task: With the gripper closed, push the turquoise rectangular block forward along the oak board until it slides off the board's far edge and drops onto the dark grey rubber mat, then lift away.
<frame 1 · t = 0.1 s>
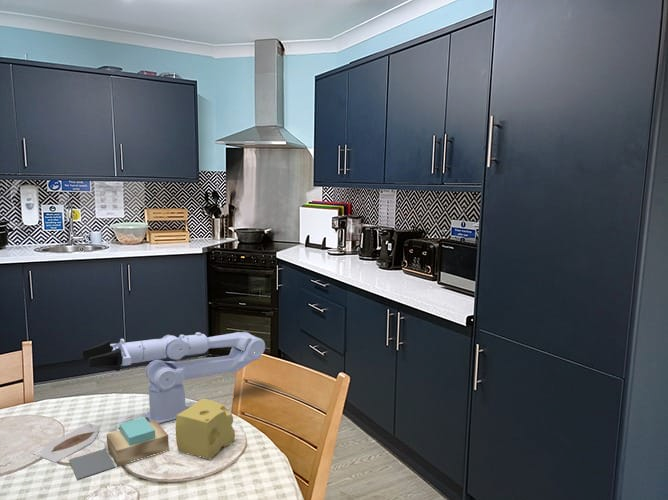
hand: (85, 358, 123), 22 cm above the table, tool horizontal, fingers open, 7 cm apart
cheese: (205, 447, 121), on the table
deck: (138, 449, 120), on the table
mat: (92, 464, 113), on the table
turquoise rectangular block: (137, 434, 119), point 4 cm above the table, touching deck
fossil: (73, 444, 123), on the table
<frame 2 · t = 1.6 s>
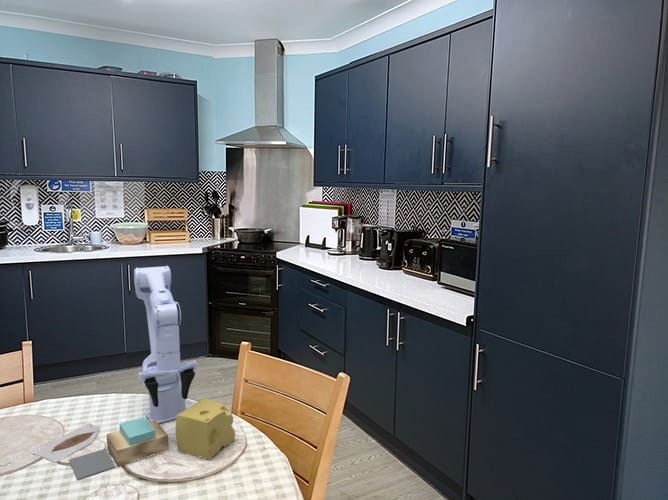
hand: (170, 401, 123), 10 cm above the table, tool pointing down, fingers open, 7 cm apart
nothing on the table moved.
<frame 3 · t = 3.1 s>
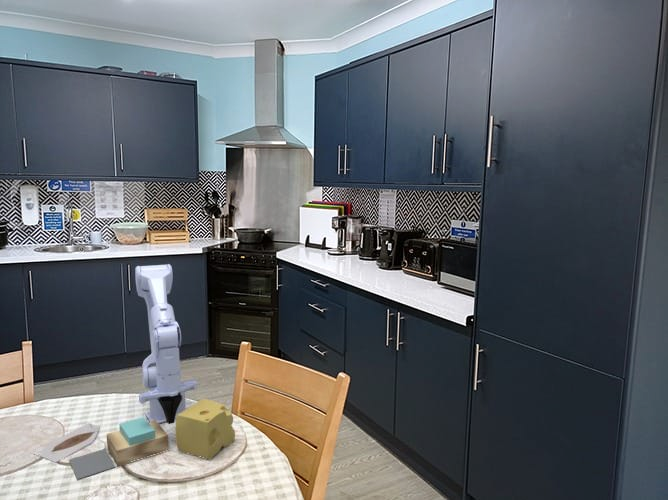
hand: (170, 422, 124), 5 cm above the table, tool pointing down, fingers closed
nothing on the table moved.
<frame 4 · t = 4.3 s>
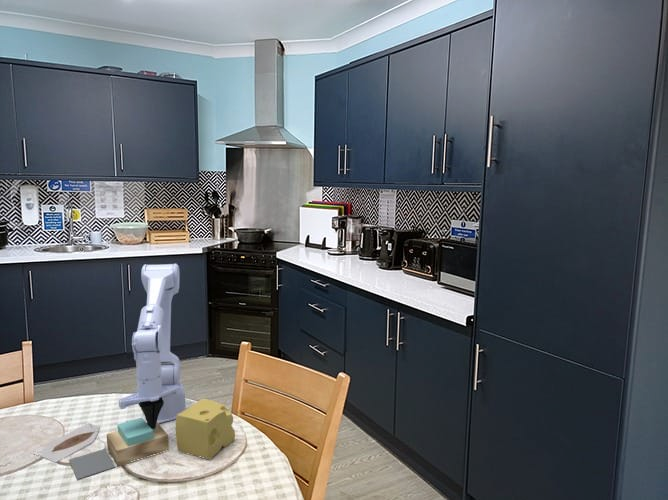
hand: (151, 427, 121), 5 cm above the table, tool pointing down, fingers closed
turquoise rectangular block: (135, 435, 119), point 4 cm above the table, touching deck, gripper
everything else where it was.
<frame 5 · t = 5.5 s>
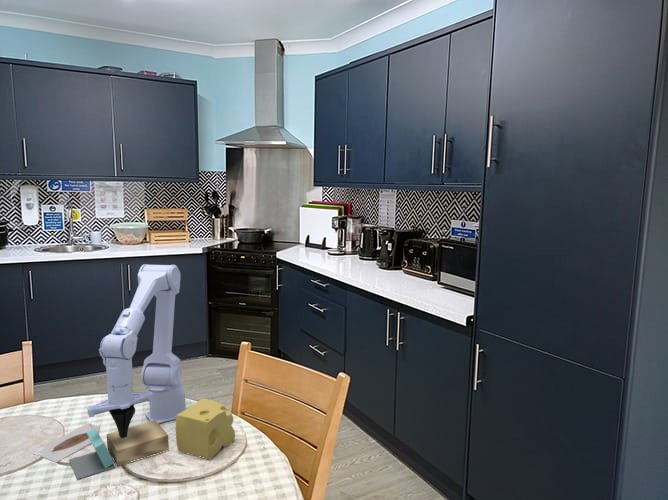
hand: (123, 435, 117), 5 cm above the table, tool pointing down, fingers closed
turquoise rectangular block: (104, 445, 114), point 4 cm above the table, tilted 108°, touching mat
everything else where it was.
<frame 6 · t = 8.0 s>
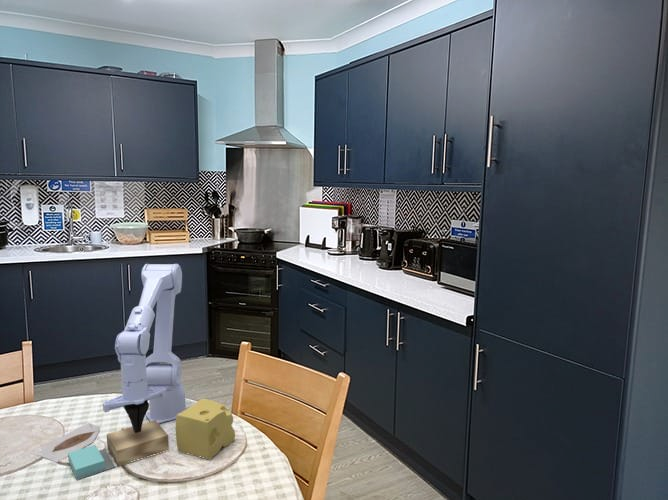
hand: (137, 430, 119), 5 cm above the table, tool pointing down, fingers closed
turquoise rectangular block: (85, 456, 112), point 2 cm above the table, tilted 180°, touching mat
everything else where it was.
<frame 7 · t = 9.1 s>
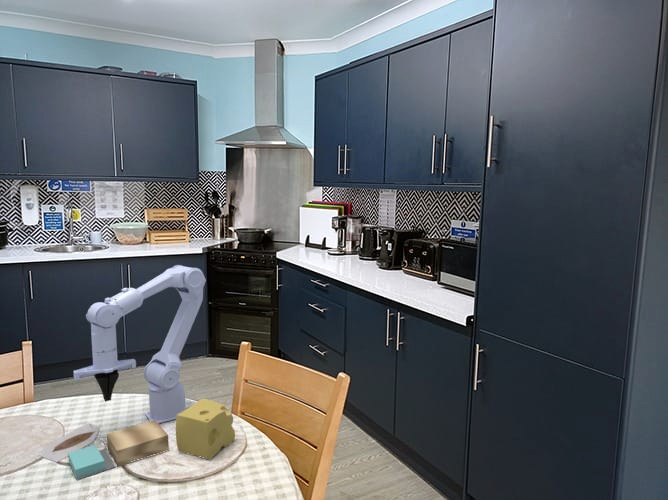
hand: (107, 399, 124), 10 cm above the table, tool pointing down, fingers closed
nothing on the table moved.
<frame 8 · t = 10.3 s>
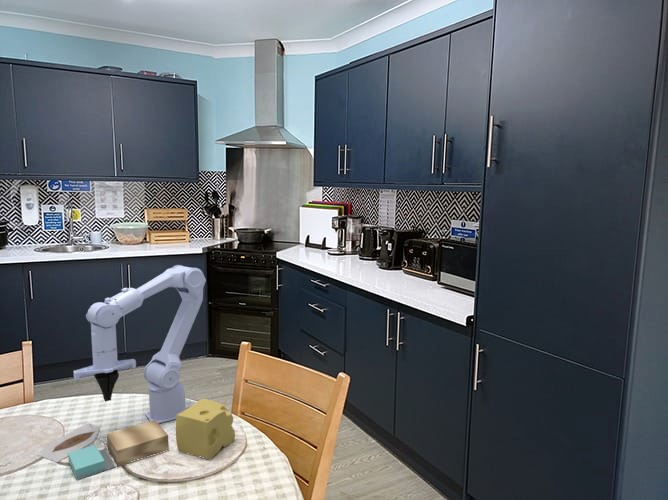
hand: (107, 399, 124), 10 cm above the table, tool pointing down, fingers closed
nothing on the table moved.
at the end: turquoise rectangular block point 2.3 cm above the table; turquoise rectangular block inside the target area on the mat (1.2 cm from its centre), point 2.3 cm above the mat's base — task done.
